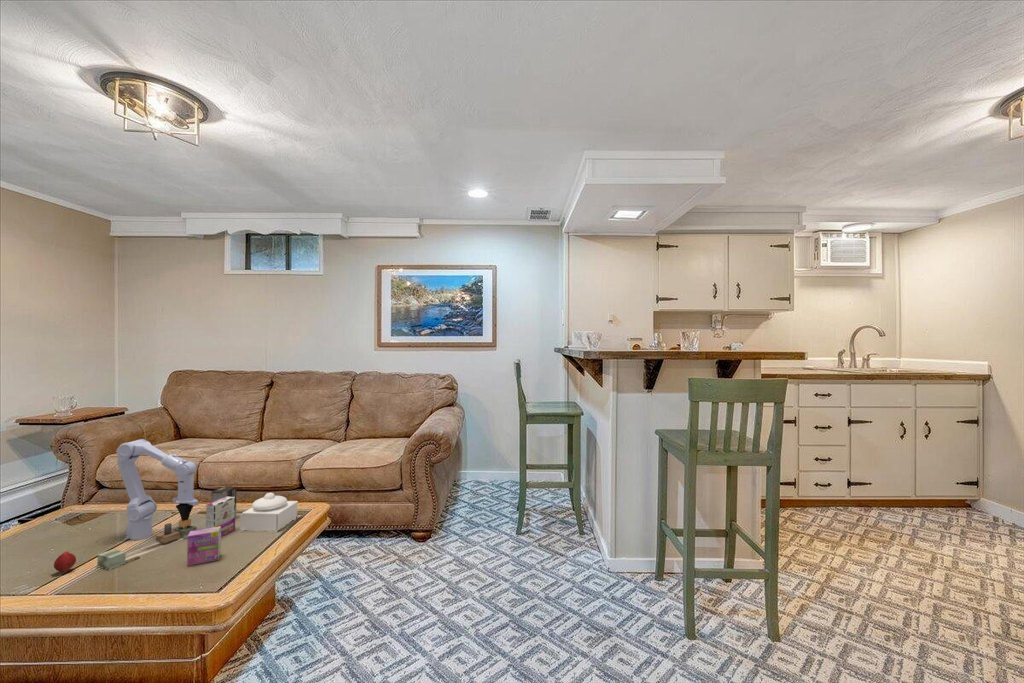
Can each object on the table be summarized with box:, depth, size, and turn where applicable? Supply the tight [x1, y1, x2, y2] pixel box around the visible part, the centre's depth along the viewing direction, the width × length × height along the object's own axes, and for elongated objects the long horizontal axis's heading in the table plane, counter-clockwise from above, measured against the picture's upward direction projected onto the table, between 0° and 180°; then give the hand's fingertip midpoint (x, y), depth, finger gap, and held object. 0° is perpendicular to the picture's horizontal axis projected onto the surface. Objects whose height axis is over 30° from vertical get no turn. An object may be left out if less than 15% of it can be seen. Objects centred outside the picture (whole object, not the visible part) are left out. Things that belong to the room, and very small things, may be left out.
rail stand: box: [96, 525, 198, 570], centre depth 181 cm, size 8×32×4 cm, turn 160°
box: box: [186, 526, 222, 567], centre depth 172 cm, size 10×6×12 cm, turn 117°
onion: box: [53, 550, 77, 573], centre depth 163 cm, size 6×6×8 cm
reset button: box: [178, 518, 192, 530], centre depth 193 cm, size 3×3×4 cm
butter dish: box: [240, 492, 299, 531], centre depth 209 cm, size 18×18×16 cm
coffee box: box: [211, 485, 237, 519], centre depth 213 cm, size 9×6×16 cm
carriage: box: [155, 522, 180, 543], centre depth 187 cm, size 6×6×6 cm
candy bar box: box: [205, 496, 236, 538], centre depth 195 cm, size 11×5×16 cm, turn 168°
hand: (185, 519), depth 194 cm, fingers closed
